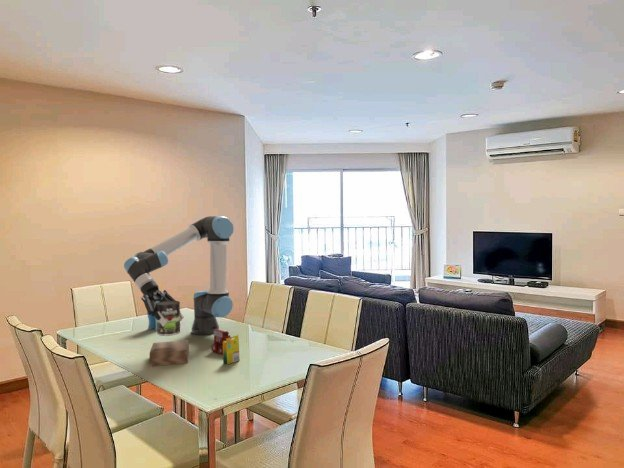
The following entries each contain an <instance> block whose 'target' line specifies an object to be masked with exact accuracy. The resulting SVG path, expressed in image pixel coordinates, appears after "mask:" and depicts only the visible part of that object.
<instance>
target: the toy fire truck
mask: <svg viewBox="0 0 624 468" xmlns="http://www.w3.org/2000/svg"><path fill="white" fill-rule="evenodd" d="M229 334H230V333H229V331H224V330H221V329H219V330H218V329H215V330H214V333H213V337H214V338H213V339H214V340H213V344H211V347H210V348H211V352H212V353H214V354H216V353H218V354H219V355H221V356H223V342H224V341H226V339H227V338H230V337H231V335H229ZM230 340H231V339H230Z"/></svg>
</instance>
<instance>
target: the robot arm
mask: <svg viewBox="0 0 624 468" xmlns="http://www.w3.org/2000/svg"><path fill="white" fill-rule="evenodd" d="M234 230H235V229H234V224H233V222H232V220H231V219H229V218H228V217H226V216H221V215H218V216H217V215H216V216H212V215H211V216H210V215H209V216H205V217H203V218H201V219H199V220H198V221H195V222H193V223H192V224H189V226H188V228H186V229H184V230H182V231H180V232H178V233H177V234H174V235H173V236H171V237H168V238H167V239H165V240H162V242H160V243H158V244H155V245H154V246H152V247H149V248H148V249H146V250H145V251H139V252H136V253H135V254H134V256H131V257H129V258H128V259H126V261H124V264H123V268H124V270H125V271H126V273H127V274H128V275H129V277H130V279H132V281H133V282H134V283H135V285H136V286H137V288H138V289H139V290H140V292H141V293H142V296H141V298H140V299H141V301H142V302H143V304H144V307H145V309H146V313H147V312H148V314H149V315H151V314H152V315H151V316H155V317H156V319H157V320H159V322H160V323H161V325H162V326H165V324H166V323H167V321H166V320H165V319H164V317H163V316H162V314H161V313H160V312H159V311H158V312H157V305H156V301H159V302H161V301H177V300H176V299H175V298H173V297H172V295H170V294H169V293H168V292H167V290H166V289H164V290H163V291H162V290H160V289H159V285H158V284H157V282H156V281H155V280H154V278H153V277H152V275H151V274H150V273H152V272H155V271H156V270H159V269H161V268H164V267H165V266H166V265H167V266H168V264H169V258H168V256H170V255H172V254H173V253H174V252H176V251H179V250H180V249H183V248H184V247H186V246H187V245H189V244H191V243H193V242H195V241H200V240H203V239H207V243H208V244H209V245H210V249H209V289H207V290H199V291H195V292H194V294H193V308H194V309H193V310H194V313H193V315H194V316H193V318H194V319H193V322H192V326H191V334H193V335H210V334H211V335H212V334H214V330H215V329H218V330H220V326H219V323H218V320H217V318H221V319H222V318H225V317H227V316H228V315H229V314H230V313H231V312H232V310H233V307H234V303H233V300H232V299H231V298H230V293H229V290H228V289H227V247H228V246H227V245H228V243H230V237H231V236H232V235H233V233H234ZM162 297H163V298H162ZM161 298H162V299H161ZM149 300H150V301H149ZM184 318H185V317H184V316H183V313H182V312H181V311H180V322H182V320H183V319H184Z"/></svg>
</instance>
